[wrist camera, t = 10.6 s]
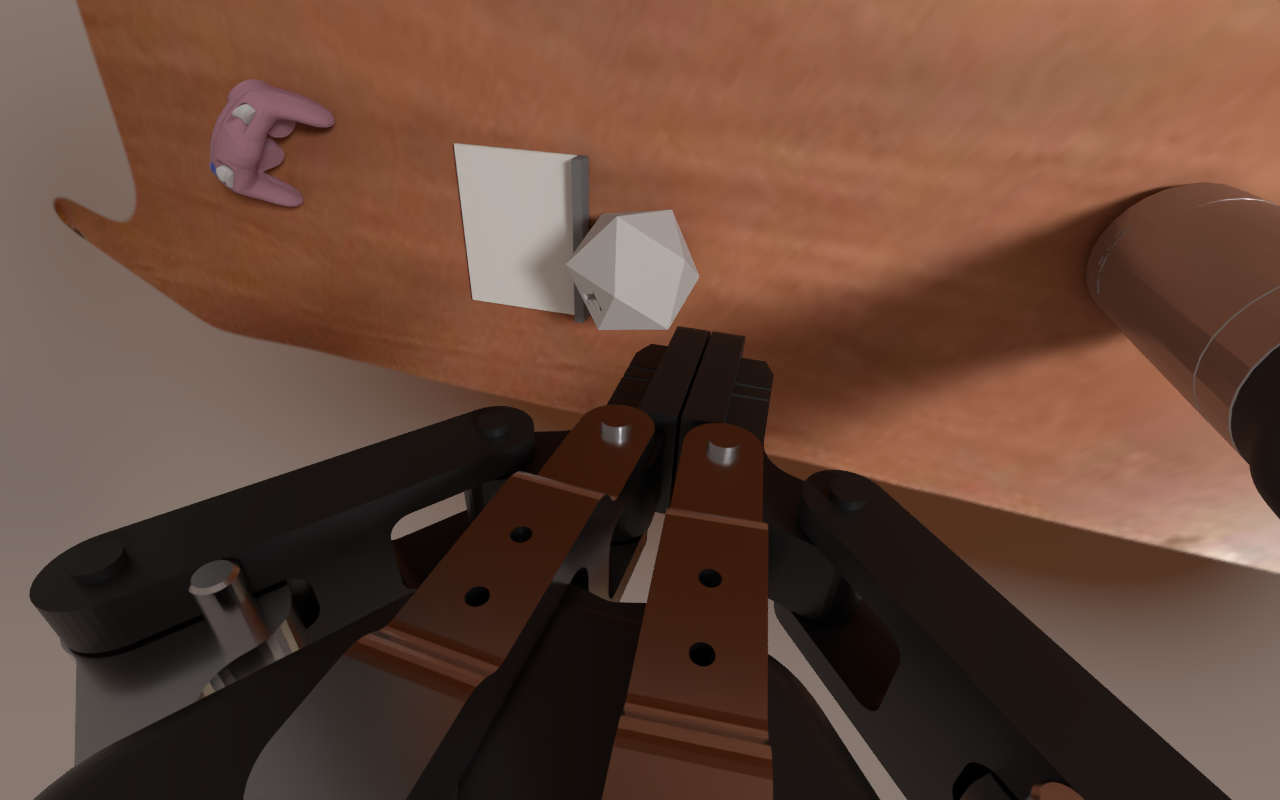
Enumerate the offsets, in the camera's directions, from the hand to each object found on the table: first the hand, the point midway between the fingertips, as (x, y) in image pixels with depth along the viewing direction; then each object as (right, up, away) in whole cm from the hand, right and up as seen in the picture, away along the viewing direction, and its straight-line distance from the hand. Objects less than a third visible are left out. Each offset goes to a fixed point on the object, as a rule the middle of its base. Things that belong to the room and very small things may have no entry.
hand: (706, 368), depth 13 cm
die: (-1, +11, +34) cm, 36 cm away
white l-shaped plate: (-11, +13, +36) cm, 40 cm away
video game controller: (-29, +21, +37) cm, 51 cm away
